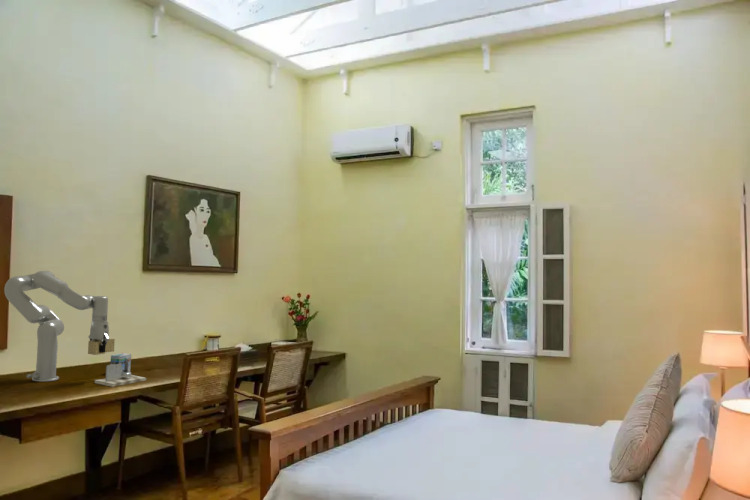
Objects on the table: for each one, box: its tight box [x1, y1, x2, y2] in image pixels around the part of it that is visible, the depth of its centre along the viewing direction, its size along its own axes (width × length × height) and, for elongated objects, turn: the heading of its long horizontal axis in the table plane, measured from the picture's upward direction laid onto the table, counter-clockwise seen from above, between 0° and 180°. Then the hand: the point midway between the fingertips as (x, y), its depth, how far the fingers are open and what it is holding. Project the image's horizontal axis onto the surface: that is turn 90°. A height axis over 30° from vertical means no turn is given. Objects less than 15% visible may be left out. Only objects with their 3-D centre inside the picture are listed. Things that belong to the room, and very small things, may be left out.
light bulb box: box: [109, 352, 132, 372], centre depth 348 cm, size 11×7×11 cm, turn 168°
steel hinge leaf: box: [104, 359, 132, 382], centre depth 323 cm, size 15×6×10 cm, turn 153°
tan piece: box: [87, 338, 116, 356], centre depth 327 cm, size 14×6×7 cm, turn 153°
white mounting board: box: [94, 374, 147, 388], centre depth 324 cm, size 22×14×2 cm, turn 153°
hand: (98, 351), depth 324 cm, fingers closed on tan piece, 6 cm apart
